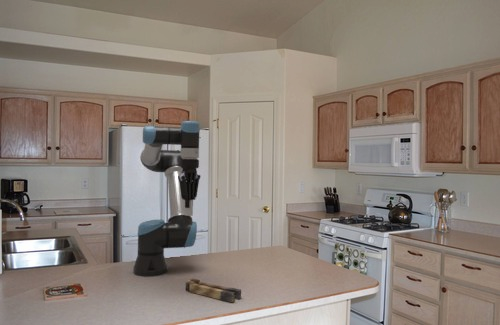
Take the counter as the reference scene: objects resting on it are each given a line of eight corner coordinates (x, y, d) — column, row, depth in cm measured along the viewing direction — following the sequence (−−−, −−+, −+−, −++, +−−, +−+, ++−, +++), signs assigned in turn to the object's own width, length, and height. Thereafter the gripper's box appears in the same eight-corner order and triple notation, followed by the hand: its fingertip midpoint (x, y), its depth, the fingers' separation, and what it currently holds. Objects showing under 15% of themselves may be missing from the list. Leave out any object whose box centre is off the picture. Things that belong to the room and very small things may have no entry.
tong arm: (185, 290, 156) (185, 281, 156) (189, 289, 158) (189, 280, 158) (231, 302, 145) (231, 292, 144) (234, 300, 146) (234, 290, 146)
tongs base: (184, 290, 157) (184, 280, 157) (189, 287, 161) (189, 277, 161) (236, 300, 147) (236, 290, 147) (240, 297, 150) (241, 287, 150)
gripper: (188, 158, 158) (187, 218, 158) (206, 158, 169) (205, 214, 169) (172, 158, 161) (171, 216, 161) (191, 158, 173) (190, 213, 173)
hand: (188, 215), depth 165 cm, fingers closed
